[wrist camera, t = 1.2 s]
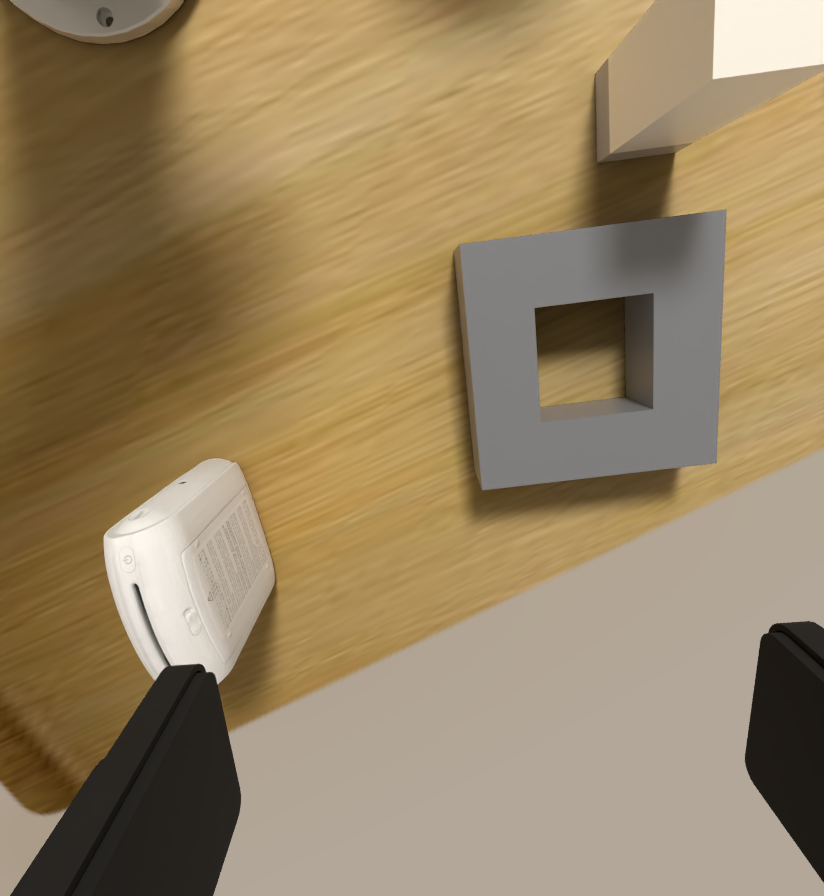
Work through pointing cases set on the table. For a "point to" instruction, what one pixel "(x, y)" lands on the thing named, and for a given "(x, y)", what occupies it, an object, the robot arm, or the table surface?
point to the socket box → (646, 349)
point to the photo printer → (191, 570)
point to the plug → (701, 70)
